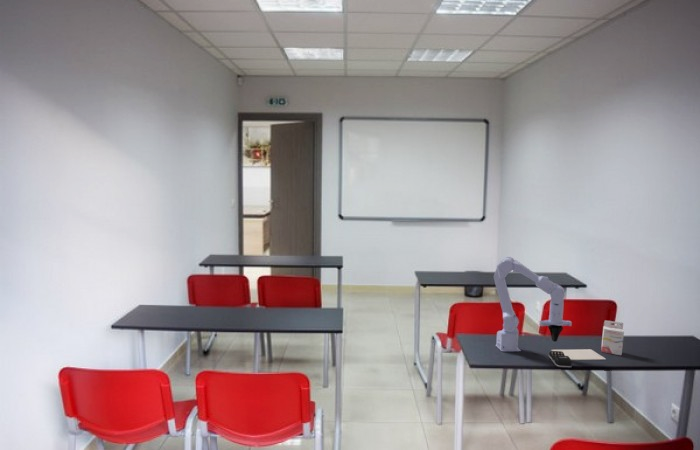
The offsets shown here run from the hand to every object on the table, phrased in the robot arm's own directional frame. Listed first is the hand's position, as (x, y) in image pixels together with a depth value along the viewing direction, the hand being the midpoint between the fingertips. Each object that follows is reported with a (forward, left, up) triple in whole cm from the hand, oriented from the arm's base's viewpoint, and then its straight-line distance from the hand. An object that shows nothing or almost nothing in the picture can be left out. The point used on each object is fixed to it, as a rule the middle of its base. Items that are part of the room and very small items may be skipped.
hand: (554, 340), depth 224 cm
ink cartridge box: (+31, +4, -8) cm, 32 cm away
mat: (+13, +1, -7) cm, 15 cm away
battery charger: (0, -2, -5) cm, 6 cm away
